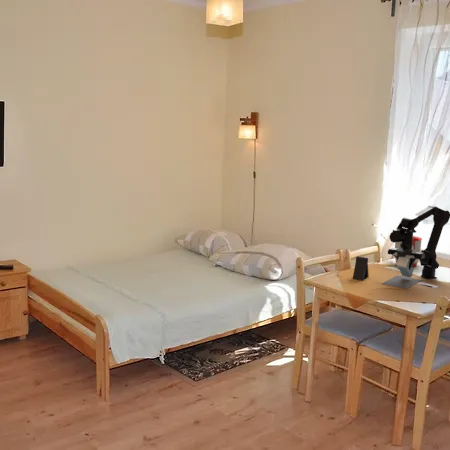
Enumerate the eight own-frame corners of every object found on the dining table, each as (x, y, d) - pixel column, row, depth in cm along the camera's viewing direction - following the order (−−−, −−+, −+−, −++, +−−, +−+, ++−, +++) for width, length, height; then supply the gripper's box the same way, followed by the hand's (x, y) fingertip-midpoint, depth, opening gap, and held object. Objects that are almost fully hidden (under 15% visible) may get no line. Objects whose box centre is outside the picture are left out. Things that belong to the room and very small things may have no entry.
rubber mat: (397, 275, 312) (397, 275, 311) (421, 280, 303) (421, 279, 303) (381, 284, 295) (381, 283, 295) (407, 289, 286) (407, 288, 286)
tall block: (405, 268, 307) (398, 256, 297) (413, 270, 304) (407, 258, 294) (402, 275, 305) (396, 264, 295) (411, 277, 302) (404, 266, 292)
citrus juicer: (394, 267, 329) (397, 235, 325) (391, 260, 346) (394, 229, 342) (422, 269, 326) (424, 236, 322) (417, 262, 343) (420, 231, 339)
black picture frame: (362, 280, 301) (364, 259, 299) (352, 278, 304) (353, 258, 302) (368, 277, 308) (370, 256, 306) (358, 275, 312) (359, 254, 309)
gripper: (384, 240, 296) (382, 268, 299) (418, 245, 285) (416, 274, 288) (392, 237, 305) (390, 264, 308) (426, 242, 294) (423, 270, 296)
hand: (404, 268), depth 300 cm, fingers open, 5 cm apart
